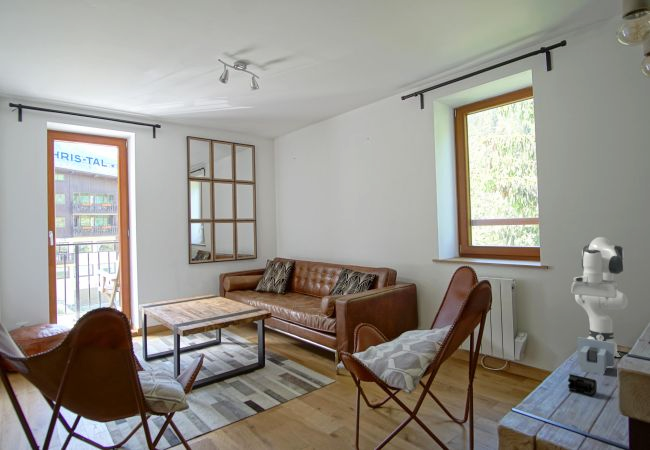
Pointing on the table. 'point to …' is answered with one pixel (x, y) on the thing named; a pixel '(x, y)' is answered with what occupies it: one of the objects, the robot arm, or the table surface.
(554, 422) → the table surface
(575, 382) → the end cap
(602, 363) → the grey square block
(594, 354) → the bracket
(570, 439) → the table surface
